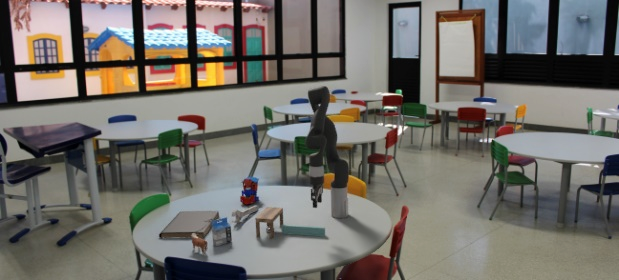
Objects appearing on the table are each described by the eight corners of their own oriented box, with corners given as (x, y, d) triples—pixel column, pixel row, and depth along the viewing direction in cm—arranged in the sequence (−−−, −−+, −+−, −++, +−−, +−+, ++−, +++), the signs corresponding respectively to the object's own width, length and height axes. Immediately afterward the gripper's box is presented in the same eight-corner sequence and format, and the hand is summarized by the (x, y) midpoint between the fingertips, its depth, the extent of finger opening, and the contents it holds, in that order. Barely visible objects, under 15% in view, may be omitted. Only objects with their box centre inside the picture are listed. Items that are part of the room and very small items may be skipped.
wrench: (258, 214, 318) (234, 226, 290) (255, 214, 318) (231, 225, 290) (258, 201, 317) (234, 211, 289) (255, 200, 318) (231, 211, 290)
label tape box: (216, 246, 263) (214, 223, 261) (212, 244, 267) (211, 220, 264) (232, 242, 268) (230, 219, 266) (228, 239, 272) (226, 216, 269)
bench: (283, 226, 288) (282, 207, 286) (273, 238, 271) (272, 219, 269) (267, 225, 290) (266, 206, 288) (256, 237, 273) (255, 218, 271)
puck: (275, 230, 282) (275, 227, 282) (273, 234, 278) (272, 230, 278) (267, 230, 284) (267, 226, 283) (265, 233, 279) (264, 229, 279)
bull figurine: (196, 246, 264) (194, 231, 263) (210, 254, 254) (209, 238, 253) (188, 249, 262) (186, 233, 260) (202, 257, 252) (200, 240, 250)
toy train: (260, 198, 339) (259, 175, 336) (254, 206, 323) (253, 182, 320) (244, 198, 340) (243, 175, 337) (238, 206, 325) (236, 182, 322)
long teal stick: (325, 235, 274) (325, 227, 273) (324, 236, 273) (324, 228, 272) (282, 232, 280) (282, 224, 279) (281, 233, 279) (281, 225, 278)
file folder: (204, 231, 275) (158, 232, 276) (204, 238, 275) (159, 239, 277) (219, 210, 307) (178, 210, 309) (219, 216, 308) (178, 217, 310)
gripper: (313, 170, 276) (314, 200, 279) (305, 177, 262) (306, 208, 266) (327, 171, 274) (327, 201, 277) (320, 178, 260) (320, 210, 263)
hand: (317, 205), depth 271 cm, fingers open, 8 cm apart
